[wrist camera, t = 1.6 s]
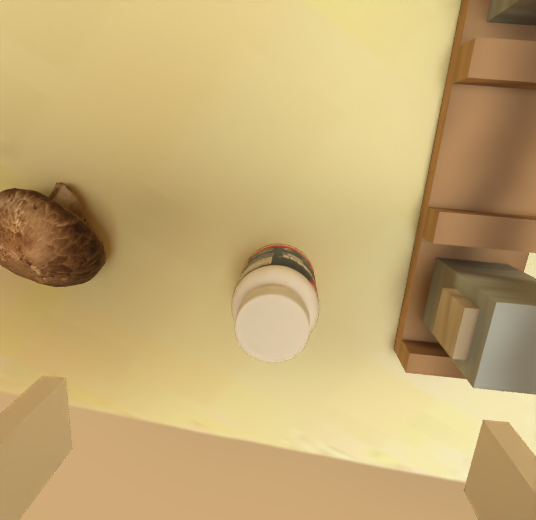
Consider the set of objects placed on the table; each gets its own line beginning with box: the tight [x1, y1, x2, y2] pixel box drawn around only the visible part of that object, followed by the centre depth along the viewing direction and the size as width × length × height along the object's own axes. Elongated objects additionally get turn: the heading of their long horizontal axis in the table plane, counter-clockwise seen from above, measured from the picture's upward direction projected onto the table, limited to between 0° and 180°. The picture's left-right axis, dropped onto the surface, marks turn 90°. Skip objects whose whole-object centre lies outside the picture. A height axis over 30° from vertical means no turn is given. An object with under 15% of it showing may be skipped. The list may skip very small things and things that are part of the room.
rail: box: [394, 0, 536, 394], centre depth 21 cm, size 7×30×9 cm, turn 175°
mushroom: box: [0, 183, 106, 287], centre depth 26 cm, size 8×8×6 cm
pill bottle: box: [232, 244, 319, 363], centre depth 24 cm, size 5×5×9 cm
